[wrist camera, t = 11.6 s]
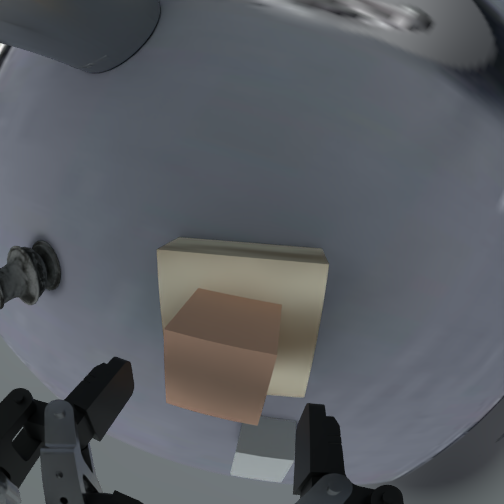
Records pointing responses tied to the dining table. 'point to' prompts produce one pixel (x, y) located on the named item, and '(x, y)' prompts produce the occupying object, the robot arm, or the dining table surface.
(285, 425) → the grey cube
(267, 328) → the terracotta cube
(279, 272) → the birch block
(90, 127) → the dining table surface
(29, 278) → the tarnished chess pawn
